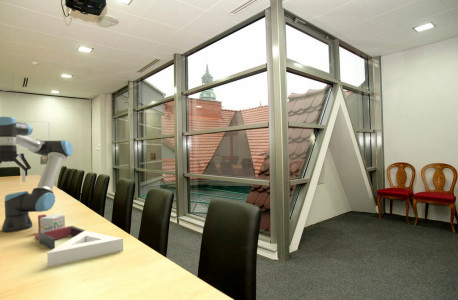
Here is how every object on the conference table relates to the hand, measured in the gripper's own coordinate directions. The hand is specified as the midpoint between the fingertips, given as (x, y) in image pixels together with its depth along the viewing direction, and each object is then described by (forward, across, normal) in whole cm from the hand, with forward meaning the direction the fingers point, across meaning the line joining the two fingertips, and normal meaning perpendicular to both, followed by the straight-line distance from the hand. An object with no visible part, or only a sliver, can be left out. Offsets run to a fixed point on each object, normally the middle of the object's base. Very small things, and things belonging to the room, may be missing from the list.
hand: (8, 183), depth 141 cm
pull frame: (+31, +16, -9) cm, 36 cm away
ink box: (+32, +16, -14) cm, 38 cm away
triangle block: (+33, +18, -49) cm, 62 cm away
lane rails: (+32, +16, -27) cm, 45 cm away
